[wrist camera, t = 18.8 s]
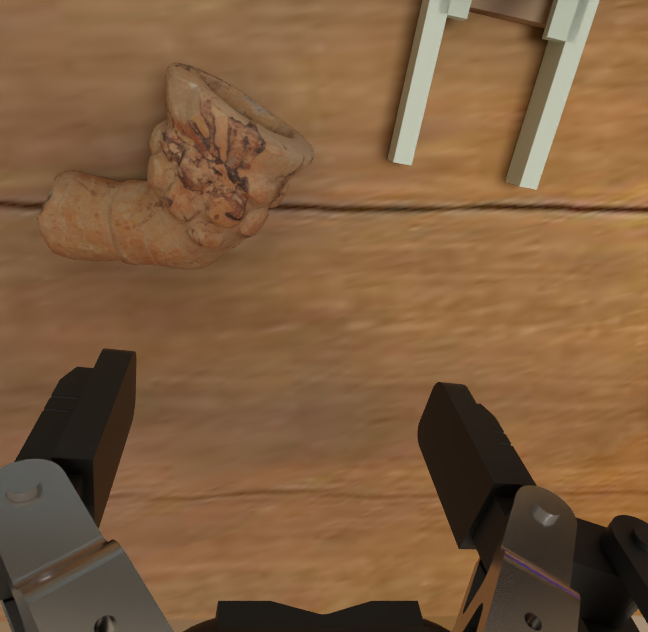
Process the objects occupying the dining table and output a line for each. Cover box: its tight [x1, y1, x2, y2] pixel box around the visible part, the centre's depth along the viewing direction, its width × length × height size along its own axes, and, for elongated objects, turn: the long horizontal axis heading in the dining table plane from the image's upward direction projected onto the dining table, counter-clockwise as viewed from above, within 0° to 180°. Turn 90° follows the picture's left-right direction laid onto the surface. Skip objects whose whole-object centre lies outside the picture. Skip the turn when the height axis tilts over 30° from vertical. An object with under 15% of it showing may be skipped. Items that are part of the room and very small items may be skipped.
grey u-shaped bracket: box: [388, 0, 599, 190], centre depth 35 cm, size 11×20×3 cm, turn 170°
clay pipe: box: [37, 63, 314, 269], centre depth 36 cm, size 19×11×15 cm
